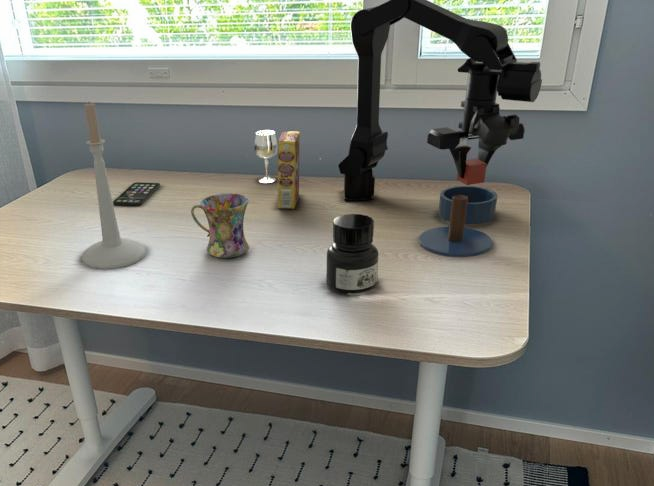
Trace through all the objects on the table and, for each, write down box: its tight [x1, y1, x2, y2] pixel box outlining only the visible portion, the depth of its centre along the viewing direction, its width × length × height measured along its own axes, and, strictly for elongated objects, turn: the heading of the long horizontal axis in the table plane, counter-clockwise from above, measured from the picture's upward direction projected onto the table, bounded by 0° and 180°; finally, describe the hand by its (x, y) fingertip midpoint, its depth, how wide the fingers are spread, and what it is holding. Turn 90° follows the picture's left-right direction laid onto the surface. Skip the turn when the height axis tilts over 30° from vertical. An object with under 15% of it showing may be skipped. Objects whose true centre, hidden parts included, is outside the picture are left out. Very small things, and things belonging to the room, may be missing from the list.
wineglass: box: [253, 129, 278, 184], centre depth 172 cm, size 6×6×12 cm
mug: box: [190, 192, 250, 259], centre depth 135 cm, size 12×9×11 cm
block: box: [456, 158, 488, 186], centre depth 141 cm, size 4×4×4 cm
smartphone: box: [112, 181, 161, 206], centre depth 170 cm, size 7×1×15 cm
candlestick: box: [81, 101, 146, 270], centre depth 131 cm, size 13×13×30 cm
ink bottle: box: [325, 213, 379, 295], centre depth 119 cm, size 10×9×12 cm
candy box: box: [277, 130, 301, 210], centre depth 156 cm, size 9×4×15 cm, turn 169°
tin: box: [437, 185, 499, 226], centre depth 145 cm, size 11×12×5 cm
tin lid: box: [418, 195, 493, 258], centre depth 132 cm, size 14×14×10 cm
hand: (470, 176), depth 142 cm, fingers closed on block, 4 cm apart
